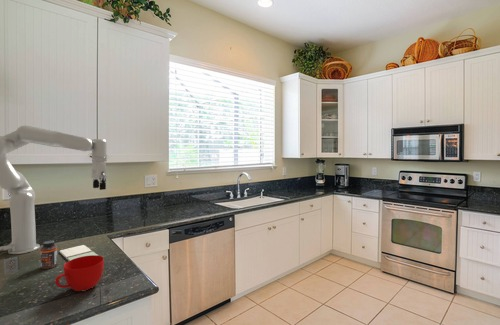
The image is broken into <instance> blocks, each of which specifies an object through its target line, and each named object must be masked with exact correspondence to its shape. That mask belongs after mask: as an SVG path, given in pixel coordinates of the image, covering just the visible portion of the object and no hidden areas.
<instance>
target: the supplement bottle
mask: <svg viewBox="0 0 500 325" xmlns="http://www.w3.org/2000/svg"><path fill="white" fill-rule="evenodd" d="M56 266H58V246H57V245H56V244H55V240H47V241H44V242H43V243H42V247H41V248H40V268H41V269H42V270H50V269H53V268H56ZM49 268H50V269H49Z"/></svg>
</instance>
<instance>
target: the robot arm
mask: <svg viewBox="0 0 500 325" xmlns="http://www.w3.org/2000/svg"><path fill="white" fill-rule="evenodd" d="M29 144H36V145H42V146H45V147H46V146H48V147H54V148H65V149H71V150H75V151H81V152H88V151H89V152H90V151H91V163H92V164H91V175H90V176H91V179H92V188H93V189H98V188H99V190H100V191H102V190H106V189H107V188H106V187H107V166H106V165H107V164H106V163H107V160H108V159H107V155H108V154H107V152H108V151H107V150H108V149H107V140H106V139H102V138H101V139H100V138H94V139H91V138H90V139H89V138H88V137H83V136H77V135H74V134H69V133H63V132H60V131H56V130H52V129H51V130H50V129H45V128H40V127H37V126H31V125H20V126H19V127H17V129H16V130H15V131H13V132H10V133H8V134H5V135H2V136H1V135H0V188H1V189H3V190H6V192H8V194H9V195H10V198H9V209H10V210H9V211H10V224H11V242H10V243H9V244H6V245H3V246H0V251H4V252H5V251H8V252H7V253H8V255H21V254H26V253H31V252H34V251H36V250H37V251H38V250H39V248H40V247H41V246H40V244H39V243H37V238H36V237H37V234H36V233H37V232H36V230H37V229H36V213H35V209H36V208H35V200H36V197H37V196H36V192H35V190H34V189H33V188H32V186H31V185H30V183H29V182H28V180H27V178H26V177H25V175H24V174H23V173H22V172H20V171H18V170H16V169H15V167H14V165H12V163H11V161H10V160H9V159H8V157H7V155H6V154H8V153H11V152H13V151H15V150H18V149H21V148H22V147H24V146H26V145H29Z"/></svg>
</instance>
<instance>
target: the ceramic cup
mask: <svg viewBox="0 0 500 325" xmlns="http://www.w3.org/2000/svg"><path fill="white" fill-rule="evenodd" d="M98 255H99V254H97V255H90V256H83V257H79V258H75V259H73V260H70V261H68V260H67V262H65V263H64V265H63V273H62V274H59V275H58V276H57V277H56V278H55V281H54V283H55V285H56V286H57V287H58V288H63V289H64V288H71V289H72V290H74V292H76V291H82V290H87V289H90V288H92V287H94V286H97V284H98V283H99V282H100V280H101V277H102V275H103V273H104V266H105V264H104V263H105V259H104V257H103V256H101V255H99V256H98ZM63 277H64V278H65V282H66V284H65V285H62V284H60V279H61V278H63ZM94 288H95V287H94ZM92 289H93V288H92ZM90 290H91V289H90Z"/></svg>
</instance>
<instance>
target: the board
mask: <svg viewBox="0 0 500 325" xmlns="http://www.w3.org/2000/svg"><path fill="white" fill-rule="evenodd" d="M59 253H60V254H61V255H62V256H63V257H64V258H65V259H66V260H67V262H68V261H70V260H73V259H75V258H79V257H83V256H90V255H98V256H100V255H99V254H97V253H96V252H95V251H94V250H92V249H90V248H89V247H88V246H86V244H82V245H77V246H72V247H69V248H65V249H61V250H59Z"/></svg>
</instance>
